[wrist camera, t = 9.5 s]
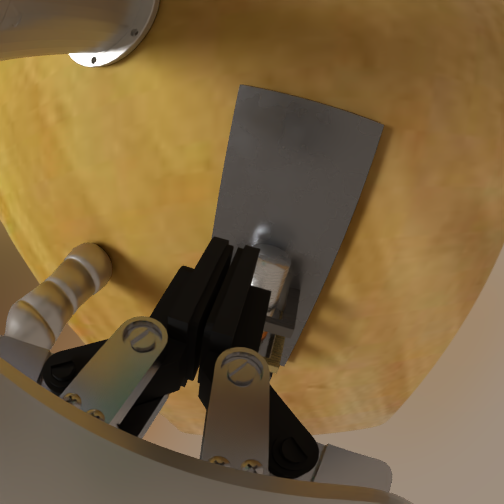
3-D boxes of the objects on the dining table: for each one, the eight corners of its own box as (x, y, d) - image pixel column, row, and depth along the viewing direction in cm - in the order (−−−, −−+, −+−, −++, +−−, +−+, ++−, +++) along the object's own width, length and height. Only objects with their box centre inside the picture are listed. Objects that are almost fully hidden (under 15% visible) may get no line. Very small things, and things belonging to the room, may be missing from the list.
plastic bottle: (79, 231, 35) (-26, 324, 18) (117, 245, 34) (9, 357, 18) (84, 268, 38) (-3, 361, 22) (120, 283, 38) (33, 391, 21)
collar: (226, 267, 31) (207, 303, 26) (300, 290, 30) (294, 330, 25) (224, 276, 31) (206, 312, 26) (297, 298, 31) (290, 338, 26)
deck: (243, 84, 22) (239, 84, 21) (381, 123, 21) (384, 125, 20) (201, 333, 39) (198, 339, 38) (285, 359, 38) (284, 366, 37)
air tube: (251, 238, 28) (239, 262, 24) (295, 251, 28) (289, 278, 24) (226, 343, 37) (216, 368, 33) (258, 353, 36) (251, 379, 33)
